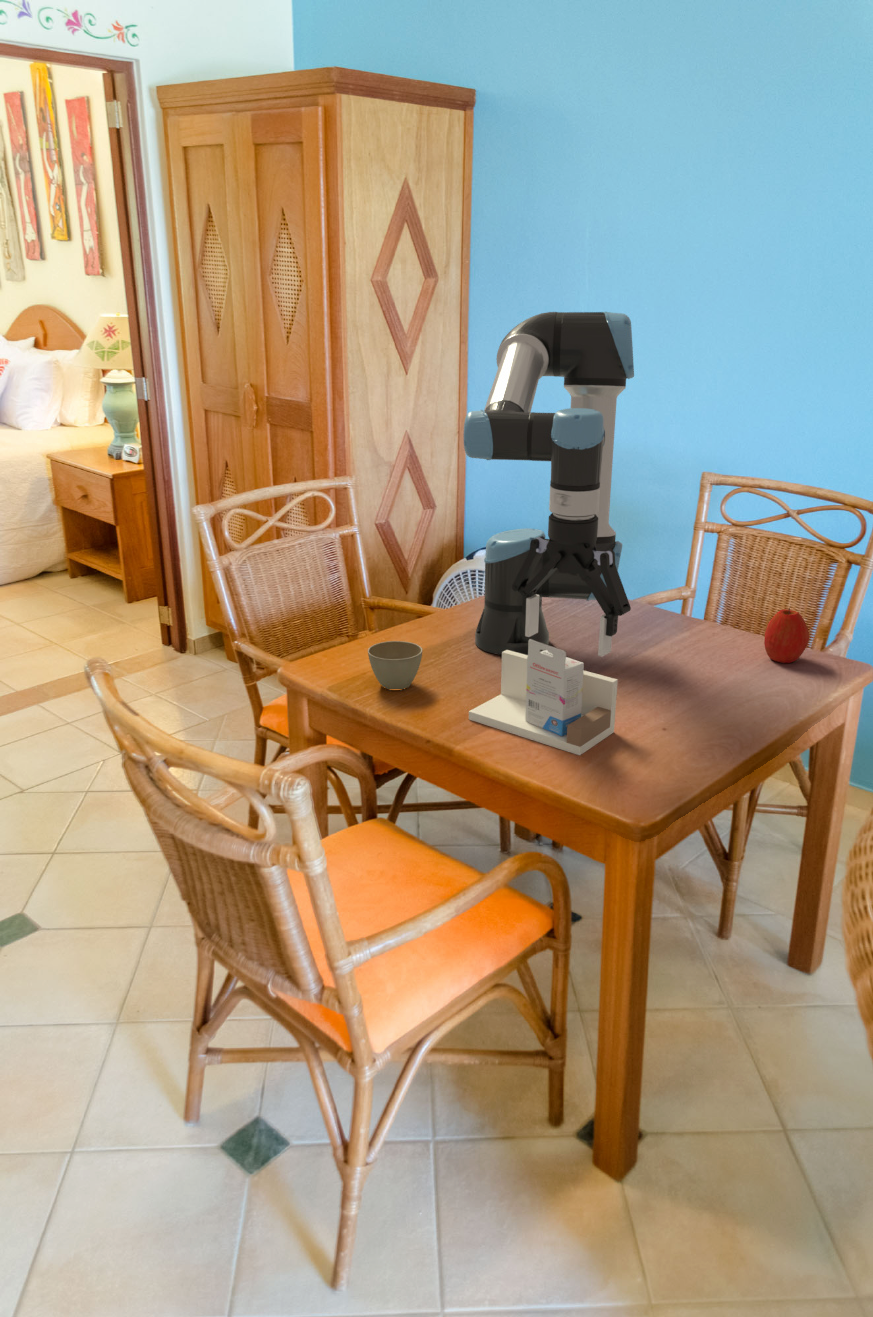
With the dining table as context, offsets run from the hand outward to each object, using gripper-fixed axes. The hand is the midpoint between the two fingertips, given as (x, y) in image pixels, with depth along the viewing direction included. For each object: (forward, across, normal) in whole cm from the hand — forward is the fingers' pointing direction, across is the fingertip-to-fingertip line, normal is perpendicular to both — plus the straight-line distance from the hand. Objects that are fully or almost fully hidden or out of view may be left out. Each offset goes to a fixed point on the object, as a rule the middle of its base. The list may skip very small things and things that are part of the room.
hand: (567, 644), depth 163 cm
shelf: (+16, -5, 0) cm, 17 cm away
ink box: (+15, -2, -1) cm, 15 cm away
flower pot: (+17, -35, -2) cm, 39 cm away
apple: (+17, +16, +56) cm, 61 cm away
